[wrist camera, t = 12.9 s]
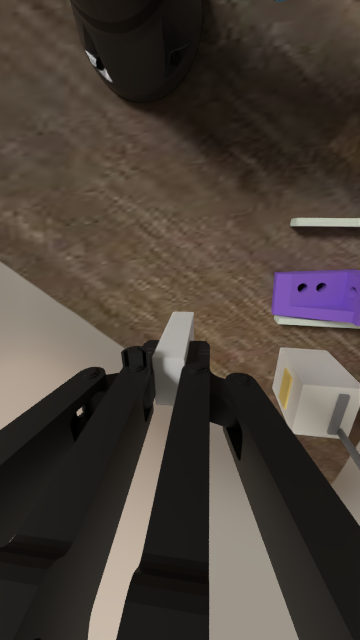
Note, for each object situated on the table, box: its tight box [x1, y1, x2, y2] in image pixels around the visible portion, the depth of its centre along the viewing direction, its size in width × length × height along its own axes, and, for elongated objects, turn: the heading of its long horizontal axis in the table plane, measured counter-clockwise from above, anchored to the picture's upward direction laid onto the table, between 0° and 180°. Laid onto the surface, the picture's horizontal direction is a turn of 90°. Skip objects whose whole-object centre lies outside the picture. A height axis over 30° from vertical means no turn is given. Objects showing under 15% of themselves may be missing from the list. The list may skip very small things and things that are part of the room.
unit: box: [273, 347, 360, 469], centre depth 35 cm, size 9×8×17 cm
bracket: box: [272, 269, 360, 326], centre depth 35 cm, size 12×7×7 cm, turn 93°
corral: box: [274, 218, 360, 329], centre depth 35 cm, size 16×15×2 cm
